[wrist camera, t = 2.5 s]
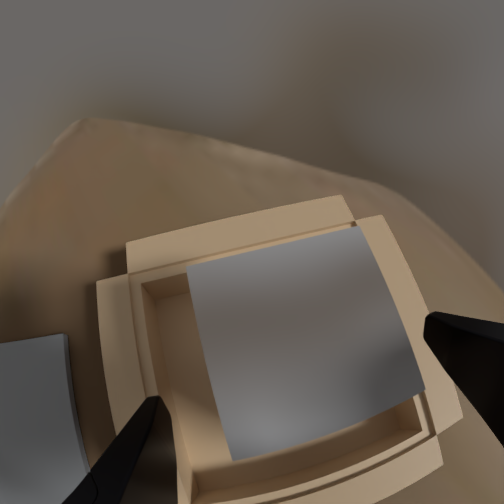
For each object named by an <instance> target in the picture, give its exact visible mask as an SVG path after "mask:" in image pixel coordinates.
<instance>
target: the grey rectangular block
mask: <svg viewBox="0 0 504 504" xmlns="http://www.w3.org/2000/svg"><path fill="white" fill-rule="evenodd" d="M186 271H187V276H188V282H189V287H190V292H191V297H192V302H193V307H194V312H195V317H196V322H197V326H198V331H199V335H200V340H201V344H202V349H203V353H204V357H205V362H206V366H207V370H208V374H209V378H210V382H211V386H212V390H213V394H214V398H215V402H216V405H217V409H218V413H219V416H220V420H221V424H222V427H223V431H224V434H225V438H226V441H227V445H228V448H229V451H230V455H231V458H232V461H236V460H241V459H246V458H250V457H255V456H259V455H263V454H267V453H271V452H274V451H278V450H282V449H285V448H289V447H292V446H295V445H298V444H302V443H305V442H308V441H311V440H314V439H317V438H320V437H323V436H325V435H328V434H331V433H334V432H336V431H339V430H342V429H344V428H347V427H349V426H352V425H354V424H356V423H359V422H361V421H364V420H366V419H368V418H370V417H373V416H375V415H377V414H379V413H381V412H384V411H386V410H388V409H390V408H392V407H394V406H396V405H398V404H400V403H402V402H404V401H406V400H408V399H410V398H412V397H413V396H415V395H417V394H419V393H421V392H423V391H424V390H426V388H425V385H424V382H423V379H422V375H421V372H420V369H419V366H418V363H417V361H416V358H415V355H414V352H413V349H412V346H411V344H410V341H409V338H408V335H407V333H406V330H405V328H404V325H403V322H402V320H401V317H400V315H399V312H398V310H397V307H396V305H395V302H394V300H393V298H392V295H391V293H390V290H389V288H388V286H387V284H386V281H385V279H384V277H383V274H382V272H381V270H380V268H379V266H378V263H377V261H376V259H375V257H374V255H373V253H372V251H371V248H370V246H369V244H368V242H367V240H366V238H365V236H364V234H363V232H362V230H361V228H360V226H355V227H351V228H347V229H343V230H338V231H334V232H330V233H326V234H322V235H317V236H313V237H309V238H305V239H300V240H296V241H292V242H288V243H283V244H279V245H275V246H271V247H266V248H262V249H258V250H254V251H249V252H245V253H241V254H237V255H233V256H228V257H224V258H220V259H216V260H211V261H207V262H203V263H199V264H195V265H190V266H186Z"/></svg>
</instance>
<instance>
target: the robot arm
mask: <svg viewBox="0 0 504 504" xmlns="http://www.w3.org/2000/svg"><path fill="white" fill-rule="evenodd" d="M423 338H424V341H425V342H426V344H427V345H428V347H429V348H430V349H431V351H432V352H433V354H434V355H435V357H436V358H437V360H438V361H439V363H440V364H441V366H442V367H443V369H444V370H445V371H446V373H447V374H448V375H449V376H450V378H451V379H452V380H453V381H454V383H455V384H456V385H457V386H458V388H459V389H460V390H461V391H462V393H463V394H464V395H465V396H466V398H467V399H468V400H469V401H470V403H471V404H472V405H473V407H474V408H475V409H476V410H477V412H478V413H479V414H480V416H481V417H482V418H483V420H484V421H485V422H486V424H487V425H488V426H489V428H490V429H491V430H492V432H493V433H494V434H495V436H496V437H497V439H498V440H499V441H500V443H501V444H502V446H503V447H504V324H503V323H497V322H492V321H486V320H480V319H475V318H469V317H464V316H458V315H453V314H448V313H442V312H437V311H435V312H432V313H430V314H428V315H427V316H426V317H425V322H424V330H423ZM61 504H178V490H177V459H176V451H175V443H174V436H173V427H172V419H171V415H170V412H169V411H168V409H167V407H166V405H165V403H164V401H163V399H162V398H161V396H159V395H156V396H149V397H147V398H146V399H145V400H144V401H143V403H142V404H141V405H140V406H139V408H138V409H137V410H136V412H135V413H134V414H133V416H132V417H131V418H130V419H129V421H128V422H127V423H126V425H125V426H124V427H123V429H122V430H121V431H120V432H119V434H118V435H117V436H116V438H115V439H114V440H113V441H112V443H111V444H110V445H109V447H108V448H107V449H106V450H105V452H104V453H103V454H102V456H101V457H100V458H99V459H98V461H97V462H96V463H95V465H94V466H93V467H92V468H91V470H90V472H88V473H87V475H86V476H85V477H84V479H83V480H82V481H81V482H80V483H79V485H78V486H77V487H76V488H75V489H74V491H73V492H72V493H71V494H70V495H69V496H68V497H67V498H66V499H65V500H64V501H63V502H62V503H61Z"/></svg>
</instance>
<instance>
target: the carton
mask: <svg viewBox="0 0 504 504" xmlns="http://www.w3.org/2000/svg"><path fill="white" fill-rule="evenodd" d="M355 226H360V228H361V230H362V232H363V234H364V236H365V238H366V240H367V242H368V244H369V246H370V248H371V251H372V253H373V255H374V257H375V259H376V261H377V263H378V266H379V268H380V270H381V272H382V274H383V277H384V279H385V281H386V284H387V286H388V288H389V290H390V293H391V295H392V298H393V300H394V302H395V305H396V307H397V310H398V312H399V315H400V317H401V320H402V322H403V325H404V328H405V330H406V333H407V335H408V338H409V341H410V344H411V346H412V349H413V352H414V355H415V358H416V361H417V363H418V366H419V369H420V372H421V375H422V379H423V382H424V385H425V388H426V390H424V391H423V392H421V393H419V394H417V395H415V396H413V397H412V398H410V399H408V400H406V401H404V402H402V403H400V404H398V405H396V406H394V407H392V408H390V409H388V410H386V411H384V412H381V413H379V414H377V415H375V416H373V417H370V418H368V419H366V420H364V421H361V422H359V423H356V424H354V425H352V426H349V427H347V428H344V429H342V430H339V431H336V432H334V433H331V434H328V435H325V436H323V437H320V438H317V439H314V440H311V441H308V442H305V443H302V444H298V445H295V446H292V447H289V448H285V449H282V450H278V451H274V452H271V453H267V454H263V455H259V456H255V457H250V458H246V459H241V460H236V461H232V458H231V455H230V451H229V448H228V445H227V441H226V438H225V434H224V431H223V427H222V424H221V420H220V416H219V413H218V409H217V405H216V402H215V398H214V394H213V390H212V386H211V382H210V378H209V374H208V370H207V366H206V362H205V357H204V353H203V349H202V344H201V340H200V335H199V331H198V326H197V322H196V317H195V312H194V307H193V302H192V297H191V292H190V287H189V282H188V276H187V271H186V266H190V265H195V264H199V263H203V262H207V261H211V260H216V259H220V258H224V257H228V256H233V255H237V254H241V253H245V252H249V251H254V250H258V249H262V248H266V247H271V246H275V245H279V244H283V243H288V242H292V241H296V240H300V239H305V238H309V237H313V236H317V235H322V234H326V233H330V232H334V231H338V230H343V229H347V228H351V227H355ZM126 254H127V270H128V274H124V275H120V276H116V277H112V278H108V279H104V280H100V281H96V284H97V306H98V320H99V332H100V342H101V351H102V359H103V366H104V373H105V380H106V386H107V392H108V398H109V403H110V408H111V413H112V418H113V423H114V427H115V432H116V436H117V435H118V434H119V432H120V431H121V430H122V429H123V427H124V426H125V425H126V423H127V422H128V421H129V419H130V418H131V417H132V416H133V414H134V413H135V412H136V410H137V409H138V408H139V406H140V405H141V404H142V403H143V401H144V400H145V399H146V398H147V397H149V396H156V395H159V396H161V398H162V399H163V401H164V403H165V405H166V407H167V409H168V411H169V412H170V415H171V419H172V427H173V436H174V443H175V451H176V459H177V490H178V504H374V503H376V502H378V501H380V500H382V499H384V498H386V497H388V496H390V495H392V494H394V493H396V492H398V491H400V490H402V489H403V488H405V487H407V486H409V485H411V484H412V483H414V482H416V481H418V480H419V479H421V478H423V477H424V476H426V475H428V474H429V473H431V472H432V471H434V470H436V469H437V468H439V467H440V466H442V465H443V460H442V456H441V451H440V447H439V443H438V438H437V434H439V433H441V432H442V431H444V430H445V429H447V428H448V427H450V426H451V425H453V424H454V423H455V422H457V421H458V420H460V419H461V418H463V415H462V411H461V407H460V403H459V400H458V396H457V392H456V389H455V386H454V382H453V380H452V379H451V378H450V376H449V375H448V374H447V373H446V371H445V370H444V369H443V367H442V366H441V364H440V363H439V361H438V360H437V358H436V357H435V355H434V354H433V352H432V351H431V349H430V348H429V347H428V345H427V344H426V342H425V341H424V338H423V330H424V322H425V317H426V316H427V315H428V314H429V312H428V309H427V307H426V304H425V302H424V300H423V297H422V295H421V293H420V290H419V288H418V286H417V284H416V281H415V279H414V277H413V275H412V273H411V270H410V268H409V266H408V264H407V262H406V260H405V258H404V256H403V254H402V252H401V250H400V248H399V246H398V244H397V242H396V240H395V238H394V236H393V234H392V232H391V230H390V228H389V227H388V225H387V223H386V221H385V219H384V217H383V215H382V214H381V215H377V216H372V217H368V218H363V219H359V220H354V218H353V216H352V214H351V212H350V210H349V208H348V206H347V204H346V202H345V201H344V199H343V197H342V195H336V196H331V197H326V198H320V199H315V200H310V201H305V202H300V203H295V204H290V205H286V206H281V207H276V208H271V209H266V210H262V211H257V212H252V213H248V214H243V215H239V216H234V217H230V218H225V219H221V220H217V221H212V222H208V223H204V224H199V225H195V226H191V227H187V228H183V229H179V230H174V231H170V232H166V233H162V234H158V235H154V236H150V237H146V238H142V239H139V240H135V241H131V242H127V243H126Z"/></svg>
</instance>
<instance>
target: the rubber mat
mask: <svg viewBox="0 0 504 504" xmlns="http://www.w3.org/2000/svg"><path fill="white" fill-rule="evenodd" d="M88 472H90V468H89V464H88V460H87V457H86V453H85V449H84V444H83V440H82V436H81V431H80V426H79V421H78V416H77V411H76V405H75V399H74V392H73V385H72V377H71V369H70V359H69V348H68V335H65V334H63V333H62V334H56V335H51V336H45V337H39V338H33V339H27V340H20V341H14V342H7V343H0V504H61V503H62V502H63V501H64V500H65V499H66V498H67V497H68V496H69V495H70V494H71V493H72V492H73V491H74V489H75V488H76V487H77V486H78V485H79V483H80V482H81V481H82V480H83V479H84V477H85V476H86V475H87V473H88Z"/></svg>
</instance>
